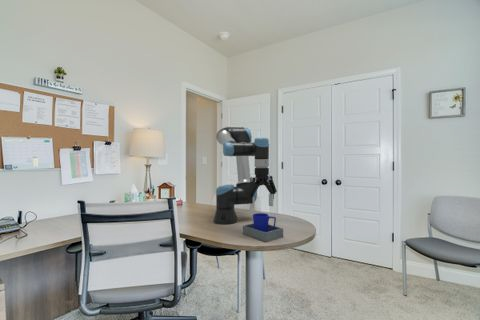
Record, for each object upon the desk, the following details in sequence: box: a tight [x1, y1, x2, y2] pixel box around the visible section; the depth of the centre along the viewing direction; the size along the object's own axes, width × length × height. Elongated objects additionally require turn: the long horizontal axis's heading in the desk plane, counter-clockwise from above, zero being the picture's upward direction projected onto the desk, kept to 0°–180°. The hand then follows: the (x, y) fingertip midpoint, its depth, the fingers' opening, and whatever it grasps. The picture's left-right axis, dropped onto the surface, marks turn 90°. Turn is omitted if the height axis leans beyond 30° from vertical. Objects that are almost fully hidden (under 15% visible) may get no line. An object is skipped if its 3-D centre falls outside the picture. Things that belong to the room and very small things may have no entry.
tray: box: [242, 223, 284, 243], centre depth 129 cm, size 17×12×4 cm
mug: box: [252, 212, 277, 232], centre depth 129 cm, size 8×12×10 cm
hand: (261, 207), depth 129 cm, fingers open, 13 cm apart
